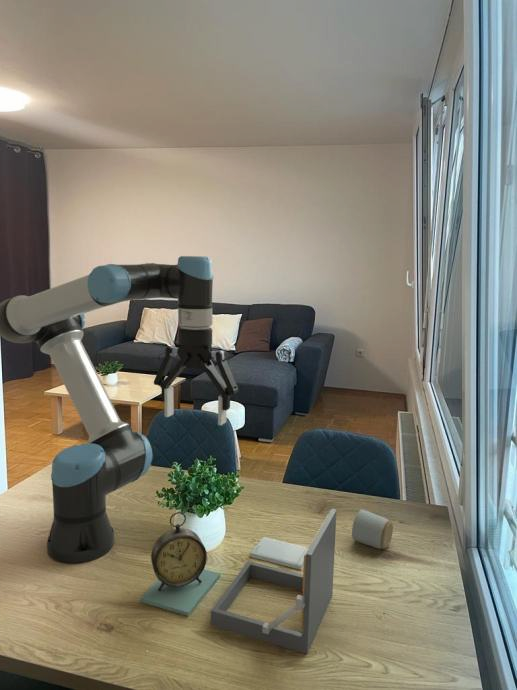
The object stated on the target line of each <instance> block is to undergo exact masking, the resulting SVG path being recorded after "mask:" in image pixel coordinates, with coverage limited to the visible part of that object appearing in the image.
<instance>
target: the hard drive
mask: <svg viewBox="0 0 517 690" xmlns="http://www.w3.org/2000/svg"><path fill="white" fill-rule="evenodd" d="M308 548H309V547H305V546H303V545H298V544H295V543H291V542H287V541H282V540H278V539H274V538H271V537H265V536H263V537H261V539H260V540H259V541H258V542H257V544H256V545H255V547H254V548H253V549H252V550H251V552H250V558H253V559H256V560H262V561H265V562H270V563H273V564H276V565H281V566H285V567H289V568H293V569H297V570H299V571H301V570H302V569H303V567H304V555H305V553H306V551H307V549H308Z"/></svg>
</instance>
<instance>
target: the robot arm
mask: <svg viewBox="0 0 517 690" xmlns="http://www.w3.org/2000/svg"><path fill="white" fill-rule="evenodd" d="M213 272H214V271H213V261H212V259H211V258H210V257H208V256H194V255H193V256H192V255H190V256H189V255H188V256H187V255H186V256H185V255H181V256H179V257H178V259H177V264H165V263H163V264H162V263H153V262H151V263H149V262H147V263H140V264H139V263H138V264H137V263H136V264H115V263H109V264H105V265H98V266H95V267H94V268H93V269H91V272H90V273H89V274H87V275H84V276H81V277H79V278H76V279H73V280H71V281H67V282H65V283H62V284H60V285H57V286H54V287H52V288H49V289H46V290H43V291H40V292H37V293H35V294H33V295H30V296H28V295H23V294H22V295H21V294H20V295H16V296H13V297H10V298H8V299H5V300H3V301H1V302H0V336H1V337H2V339H4V340H6V341H8V342H11V343H15V344H16V343H17V344H27V343H36V344H37V346H38V348H39V350H40V352H42V354H46V355H49V357H50V359H51V361H52V363H53V364H54V367H55V369H56V372H57V373H58V375H59V377H60V379H61V381H62V383H63V385H64V387H65V389H66V391H67V393H68V395H69V397H70V399H71V401H72V403H73V405H74V408H75V410H76V412H77V414H78V416H79V418H80V420H81V422H82V424H83V426H84V428H85V430H86V433H87V435H88V439H87V443H81V444H74V445H72V446H68V447H66V448H64V449H63V450H61V451H59V452H58V453H57V454H56V455H55V457H54V458H53V460H52V463H51V474H50V475H51V476H50V479H51V482H52V483H51V484H52V502H53V503H52V504H53V506H52V507H53V520H52V524H51V527H50V530H49V534H48V537H47V540H46V548H47V549H46V550H47V554H48V556H49V557H50V558H51V559H52V560H54V561H57V562H60V563H63V564H64V563H65V564H78V563H80V564H81V563H85V562H89V561H93V560H95V559H98V558H101V557H102V556H104V555H106V554H107V553H109V552H110V551H111V550H112V548H113V547H114V545H115V531H114V529H113V527H112V525H111V523H110V519H109V515H108V514H107V507H106V506H107V505H106V504H107V503H106V500H107V498H106V497H107V495H110V494H111V493H113V492H115V491H117V490H118V489H121V488H122V487H124V486H127V485H129V484H131V483H134V482H136V481H138V479H140V478H141V477H143V476H145V475H146V473H148V471H149V470H150V468H151V466H152V461H153V449H152V445H151V444H150V441H149V439H148V438H147V437H146V435H145V434H142V433H141V432H138V431H133V429H132V426H131V425H130V423H128V422H124V421H122V420H121V418H120V416H119V414H118V413H117V410H116V409H115V406H114V404H113V402H112V400H111V398H110V397H109V394H108V392H107V390H106V388H105V387H104V384H103V383H102V380H101V379H100V376H99V374H98V372H97V370H96V368H95V366H94V364H93V362H92V361H91V358H90V356H89V354H88V352H87V351H86V348H85V346H84V344H83V342H82V340H83V338H84V334H85V333H84V331H83V329H84V327H85V318H86V317H85V314H86V313H89V312H94V311H95V310H99V309H102V308H104V307H109V306H114V305H117V304H118V303H122V302H127V301H134V300H135V301H139V300H146V299H147V300H148V299H158V298H159V299H160V298H161V299H174V300H175V299H177V307H178V308H177V314H178V315H177V319H178V320H177V323H178V326H179V327H178V330H177V343H178V347H176V345H174V344H173V345H170V346H167V347H166V348H165V353H164V354H165V355H164V357H163V360H162V362H161V365H160V367H159V368H158V371H157V373H156V375H155V378H154V380H153V385H155V386H158V387H160V388H161V402H163V403H164V417H165V418H169V417H171V416H173V415H174V412H175V411H174V409H175V408H174V406H175V405H174V387H173V386H172V385H173V382H174V381H175V380H176V379H177V377H179V376H180V375H181V373H182V372H183V371H184V369H195V370H202V371H203V373H205V374H206V375H207V376H208V378H209V379H210V381H211V382H212V383H213V384H214V386H215V388H216V389H217V391H218V392H219V393H220V395H218V397H217V398H218V400H217V403H218V404H217V419H218V420H217V425H218V426H223V425H224V424H226V423H227V411H229V410H230V408H231V396H233V395H235V394H236V393H238V392H239V387H238V385H237V383H236V381H235V377H234V375H233V373H232V371H231V368H230V367H229V364H228V361H227V357H226V356H227V353H226V351H225V350H224V349H221V350H215V351H214V350H213V348H212V347H213V346H212V345H213V328H211V326H212V325H213V288H214V287H213V284H214V283H213V282H214V275H213ZM177 355H178V357H179V359H180V360H178V362H177V363H176V365H175V366H174V368H173V369H172V370H171V372H170V373H169V370H170V368H171V366H172V364H173V363H174V359H175V357H176V356H177ZM212 358H213V360H214V361H216V365H217V367H218V370H219V372H218V371H217V369H216V367H215V366H216V365H215V364H214V363H213V361H212Z"/></svg>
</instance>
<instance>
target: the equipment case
mask: <svg viewBox="0 0 517 690" xmlns="http://www.w3.org/2000/svg"><path fill="white" fill-rule="evenodd" d="M337 510H338V509H335V508H331V509H330V511H329V513H328V514H327V515H326V517H325V518H324V520H323V522H322V524H321V526H320V527H319V529H318V531H317V532H316V534H315V535H314V537H313V539H312V541H311V543H310V544H309V546H308V547H307V548H308V549H307V551H306V553H305V555H304V566H303V568H302V569H303V570H302V573H298V572H294V571H291V570H290V571H289V570H286V569H282V568H277V567H273V566H271V565H270V566H269V565H267V564H266V565H265V564H262V563H258V562H252V561H249V560H248V561H247V562H246V563H245V564H244V565H243V567H242V568H241V570H240V571H239V572H238V574H237V575H236V576H235V578H234V579H233V580H232V582H231V583H230V584H229V585H228V587H227V588H226V590H225V591H224V592H223V594H222V595H221V597H219V599H218V601H217V602H216V603H215V604H214V606H213V607H212V608H211V610H210V626H213V627H217V628H219V629H224V630H226V631H230V632H232V633H236V634H240V635H242V636H247V637H249V638H254V639H255V640H260V641H263V642H266V643H269V644H273V645H276V646H278V647H283V648H285V649H286V648H287V649H289V650H293V651H297V652H300V653H303V654H306V655H308V654H309V651H310V649H311V647H312V644H313V642H314V640H315V636H317V635H316V634H317V633H318V630H319V627H320V625H321V624H322V620H323V619H324V616H325V613H326V611H327V609H328V607H329V604H330V602H331V599H332V597H333V594H334V593H333V590H334V569H335V548H336V532H337V531H336V530H337V514H338V513H337V512H338V511H337ZM250 578H252V579H255V580H260V581H263V582H264V581H265V582H268V583H271V584H275V585H279V586H284V587H288V588H290V589H291V588H292V589H295V590H298V591H302V594H297V596H296V598H295V605H293V606H292V607H290V608H289V609H288V610H286V611H285V612H284V613H282V614H281V615H279V616H278V617H276V618H275V619H274V620H273V621H271V622H265V621H262V620H259V619H255V618H251V617H247V616H246V615H245V616H244V615H240V614H238V613H233V612H230V611H227V610H228V609H229V608H230V606H231V605H232V604H233V603H234V601H235V599H236V598H237V597H238V595H239V594H240V593H241V591H242V589H243V588H244V587H245V585H246V584H247V582H249V579H250ZM298 611H300V612H301V619H300V620H301V623H300V625H301V627H300V628H302V632H299V631H296V630H292V629H289V628H286V627H283V626H279V625H280V624H282V623H283V622H284V621H286V620H287V619H289V618H290V617H292V616H293V615H294V614H295V613H297V612H298Z"/></svg>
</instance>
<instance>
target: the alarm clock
mask: <svg viewBox="0 0 517 690" xmlns="http://www.w3.org/2000/svg"><path fill="white" fill-rule="evenodd" d="M178 514H181V515H182V516H183V517H184V520H183V522H182V523H181V524H179V523H177V524H175V525H174V524H173V523H172V519H173V517H174V516H176V515H178ZM186 520H187V516H186V514H185V513H184V512H182V511H176V512H174V513H173V514H172V515H171V516H170V517H169V524H170V526H172V527H174V529H170V530H168V531H166V532H165V533H163V534H162V535H161V536H159V537H158V539H157V540H156V541H155V542H154V545H153V546H152V550H151V555H150V561H151V564H152V568H153V572H154V575H155V577H156V578H157V579H158V580H160V581H161V582H162V583H161V585H160V588H158V591H161V588H162V587H163V586H164V585H168V586H172V587H180V586H184V585H187V584H189V583H191V582H193V581H194V580H197V581H198V582H199V583H201V582H202V581H201V580H200V579H199V578H198V577H199V576H200V574H201V573H202V571H203V570H204V569H205V568H206V565H207V560H208V557H207V556H208V555H207V553H208V552H207V550H206V547H205V544H204V543H203V541H202V539H201V538H200V537H199V535H198V534H197V533H196V532H194V531H193V530H192V529H189V528H185V527H184V528H183V527H181V526H183V525H185V523H186Z"/></svg>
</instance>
